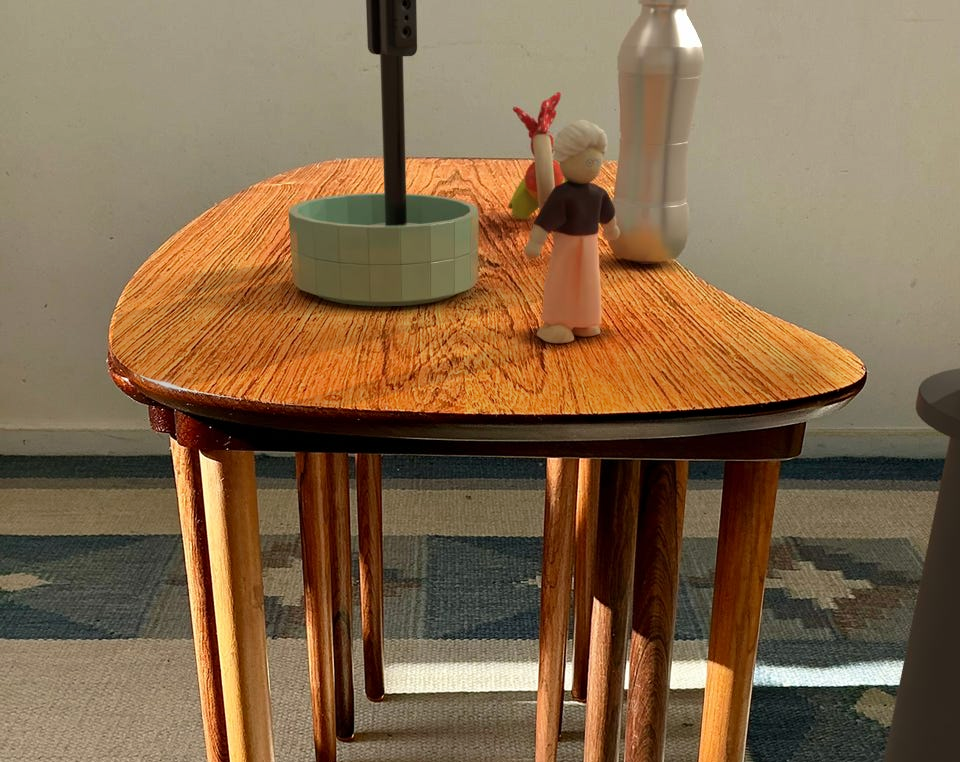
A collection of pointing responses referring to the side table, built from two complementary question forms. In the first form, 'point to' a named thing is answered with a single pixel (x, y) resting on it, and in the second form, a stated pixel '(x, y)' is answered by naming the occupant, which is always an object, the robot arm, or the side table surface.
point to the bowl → (384, 249)
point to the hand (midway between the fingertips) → (392, 53)
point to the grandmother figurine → (574, 236)
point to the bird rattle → (538, 162)
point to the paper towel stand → (393, 136)
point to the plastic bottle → (655, 131)
